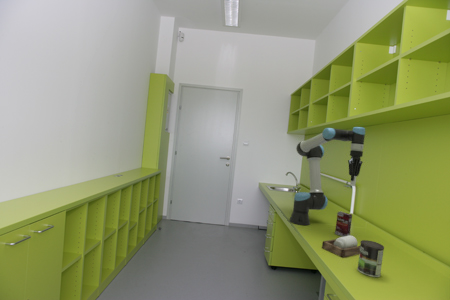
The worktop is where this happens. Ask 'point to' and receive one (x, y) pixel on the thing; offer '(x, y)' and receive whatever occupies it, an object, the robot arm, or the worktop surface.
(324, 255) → the worktop surface
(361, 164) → the robot arm
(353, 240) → the pill bottle
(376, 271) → the coffee can
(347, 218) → the supplement box
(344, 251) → the frame
